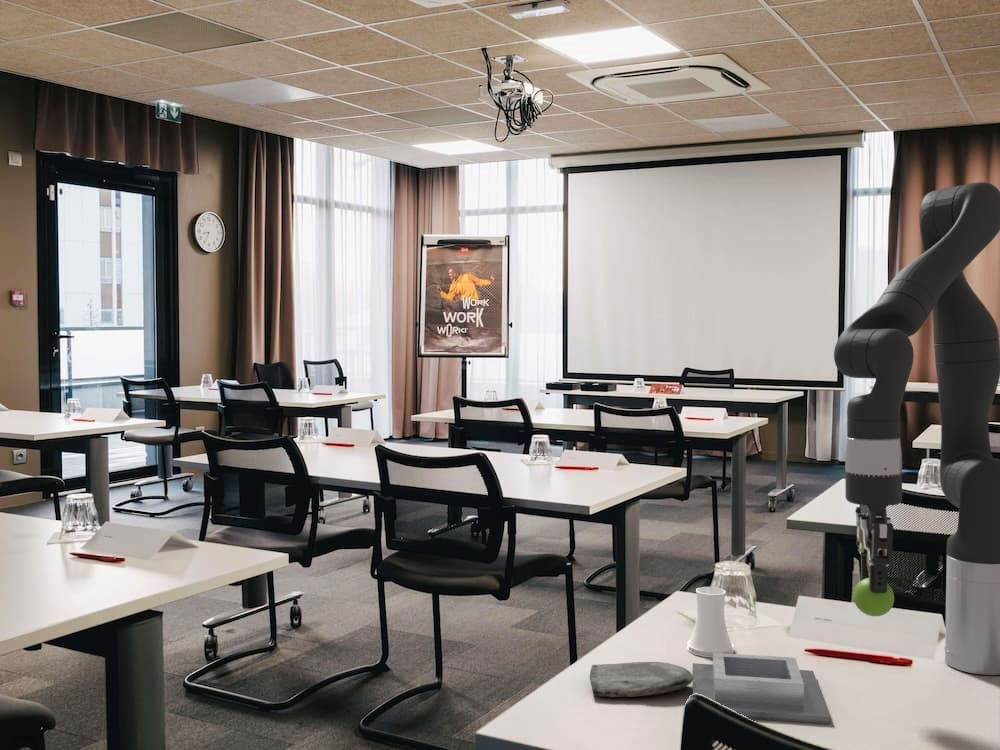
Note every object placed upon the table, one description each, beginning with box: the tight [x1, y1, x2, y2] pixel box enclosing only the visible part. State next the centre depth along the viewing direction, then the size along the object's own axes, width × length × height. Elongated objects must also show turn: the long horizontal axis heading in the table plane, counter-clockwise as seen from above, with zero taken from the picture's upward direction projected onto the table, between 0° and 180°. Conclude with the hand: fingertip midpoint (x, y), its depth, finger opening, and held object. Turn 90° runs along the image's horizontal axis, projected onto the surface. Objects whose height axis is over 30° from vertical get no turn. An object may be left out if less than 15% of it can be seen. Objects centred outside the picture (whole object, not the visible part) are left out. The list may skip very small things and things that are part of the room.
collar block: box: [692, 653, 831, 725], centre depth 139 cm, size 18×18×4 cm
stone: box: [589, 661, 693, 699], centre depth 141 cm, size 11×4×15 cm
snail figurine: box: [852, 542, 895, 617], centre depth 137 cm, size 5×6×12 cm
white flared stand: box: [686, 586, 735, 658], centre depth 158 cm, size 8×8×10 cm
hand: (873, 586), depth 137 cm, fingers closed on snail figurine, 5 cm apart
